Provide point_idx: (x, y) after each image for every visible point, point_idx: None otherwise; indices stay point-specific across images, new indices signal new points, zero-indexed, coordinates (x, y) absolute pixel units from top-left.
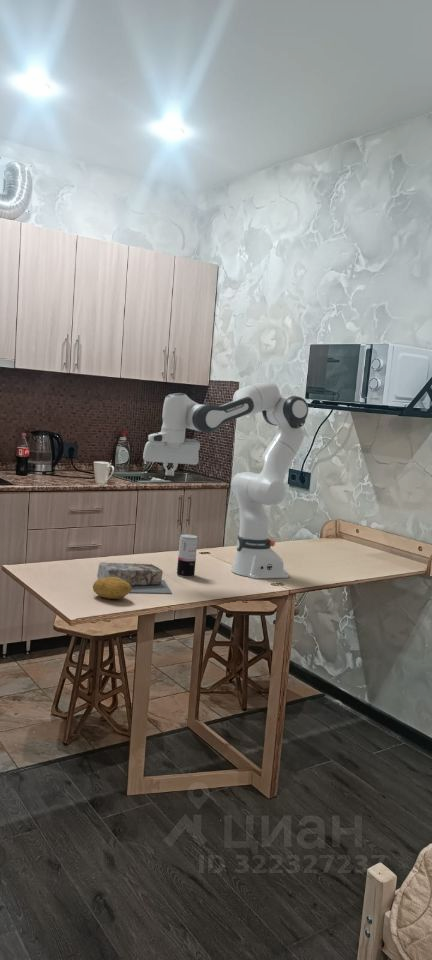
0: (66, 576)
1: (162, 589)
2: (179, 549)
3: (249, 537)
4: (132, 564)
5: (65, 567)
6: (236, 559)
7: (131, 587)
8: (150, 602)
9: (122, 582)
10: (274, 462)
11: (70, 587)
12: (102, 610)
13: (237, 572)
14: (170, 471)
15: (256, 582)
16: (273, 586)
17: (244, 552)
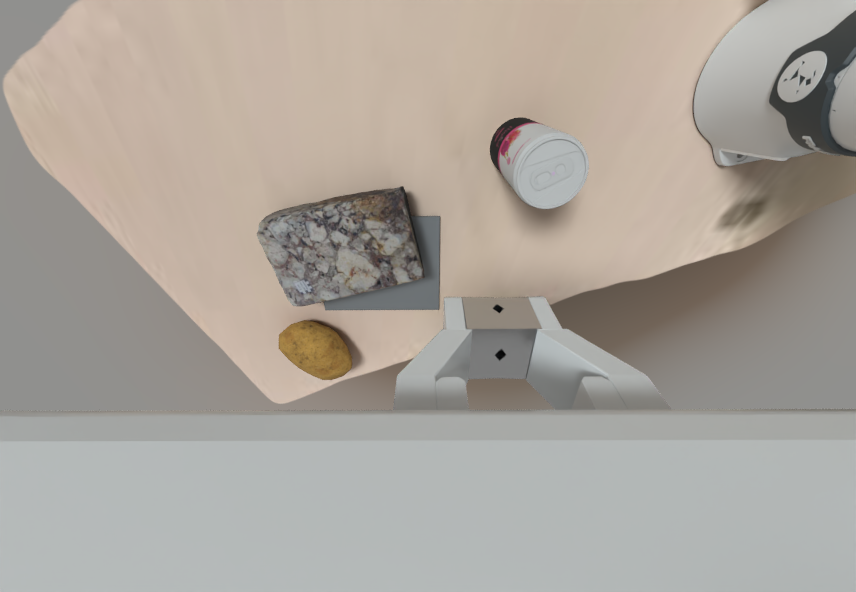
0: (191, 197)
1: (422, 290)
2: (504, 168)
3: (845, 143)
4: (348, 219)
5: (148, 90)
6: (740, 86)
7: None
8: (391, 351)
9: (332, 376)
10: None
11: (231, 282)
12: (315, 385)
13: (698, 115)
14: (498, 370)
15: (694, 201)
16: (714, 234)
17: (772, 126)
